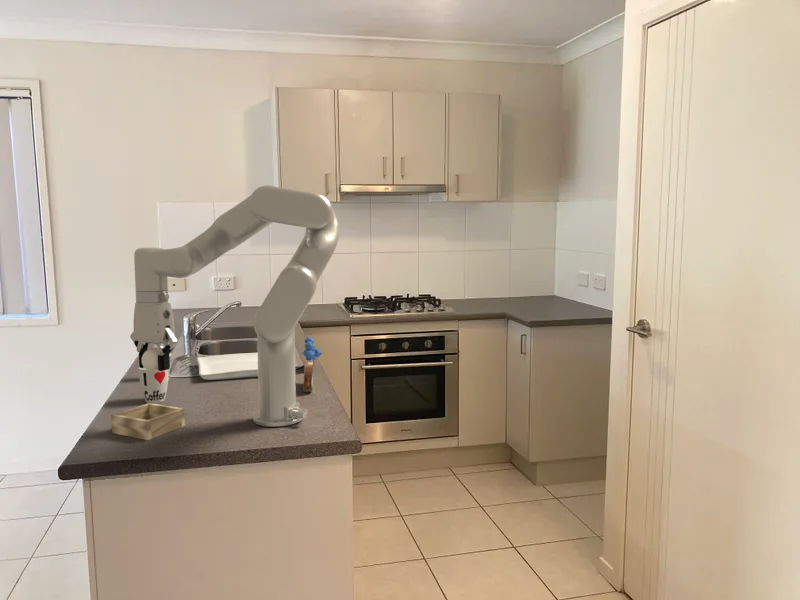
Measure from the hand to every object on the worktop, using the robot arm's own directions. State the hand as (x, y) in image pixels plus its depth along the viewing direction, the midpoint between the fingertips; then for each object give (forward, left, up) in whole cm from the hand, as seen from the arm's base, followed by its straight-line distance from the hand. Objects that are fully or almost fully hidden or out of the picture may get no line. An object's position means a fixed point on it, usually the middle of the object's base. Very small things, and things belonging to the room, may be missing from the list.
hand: (154, 367), depth 164 cm
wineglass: (+35, -36, -15) cm, 52 cm away
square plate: (+20, -56, -15) cm, 62 cm away
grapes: (-2, -68, -15) cm, 70 cm away
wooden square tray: (-1, +4, -15) cm, 15 cm away
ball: (0, 0, +2) cm, 2 cm away
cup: (+18, -16, -15) cm, 28 cm away
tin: (-15, -46, -15) cm, 51 cm away
